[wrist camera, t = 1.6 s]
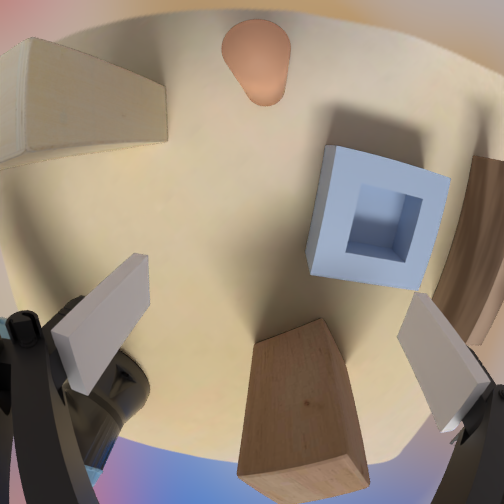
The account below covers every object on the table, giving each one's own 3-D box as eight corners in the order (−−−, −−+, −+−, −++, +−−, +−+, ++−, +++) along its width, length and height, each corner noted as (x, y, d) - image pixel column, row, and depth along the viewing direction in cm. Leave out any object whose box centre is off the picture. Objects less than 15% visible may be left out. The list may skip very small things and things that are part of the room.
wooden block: (322, 315, 36) (348, 454, 17) (346, 365, 39) (371, 487, 20) (252, 343, 38) (233, 477, 20) (283, 388, 41) (281, 507, 22)
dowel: (243, 103, 28) (216, 73, 15) (248, 68, 26) (227, 17, 13) (282, 108, 28) (286, 81, 15) (287, 73, 26) (294, 23, 13)
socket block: (305, 251, 33) (310, 274, 27) (325, 144, 28) (336, 145, 23) (398, 267, 33) (418, 290, 27) (424, 170, 28) (450, 178, 23)
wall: (431, 301, 34) (464, 345, 25) (473, 155, 27) (525, 166, 17) (446, 303, 34) (481, 345, 24) (488, 162, 26) (540, 175, 17)
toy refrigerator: (167, 79, 27) (31, 24, 8) (170, 142, 30) (26, 157, 10) (106, 93, 28) (-39, 79, 8) (109, 151, 30) (-39, 183, 11)
